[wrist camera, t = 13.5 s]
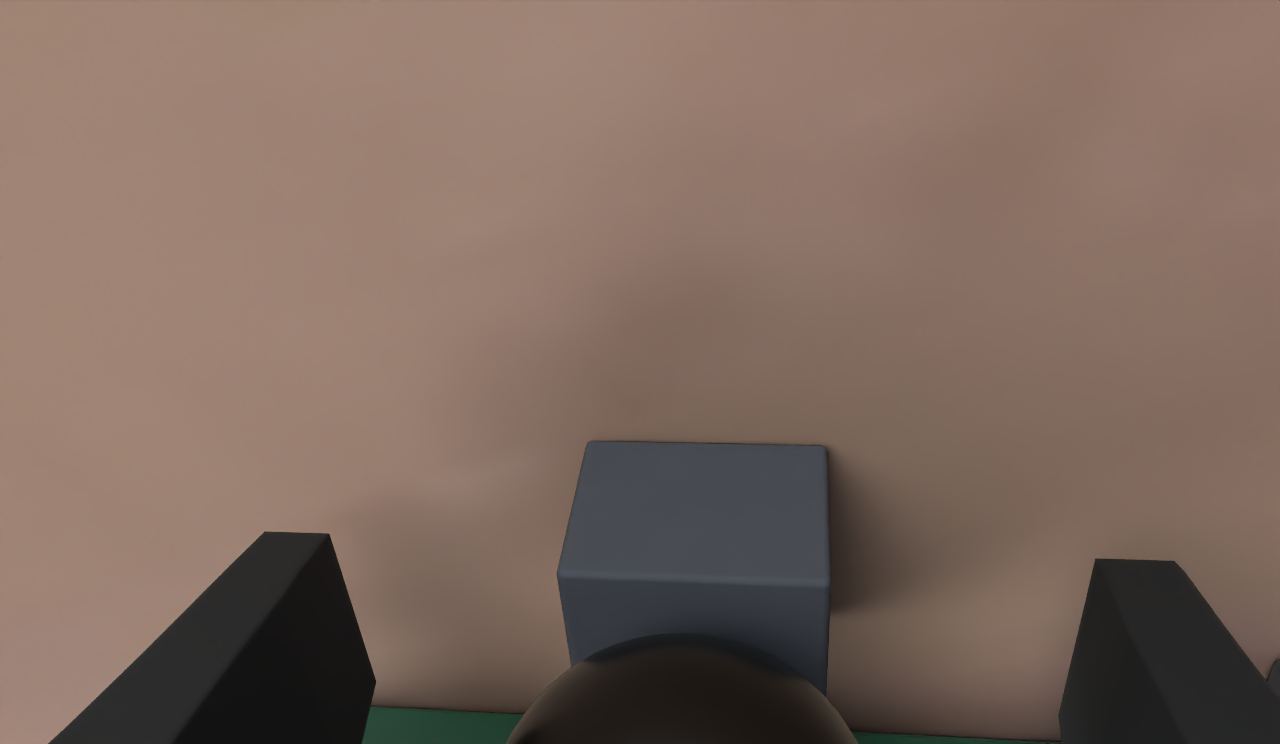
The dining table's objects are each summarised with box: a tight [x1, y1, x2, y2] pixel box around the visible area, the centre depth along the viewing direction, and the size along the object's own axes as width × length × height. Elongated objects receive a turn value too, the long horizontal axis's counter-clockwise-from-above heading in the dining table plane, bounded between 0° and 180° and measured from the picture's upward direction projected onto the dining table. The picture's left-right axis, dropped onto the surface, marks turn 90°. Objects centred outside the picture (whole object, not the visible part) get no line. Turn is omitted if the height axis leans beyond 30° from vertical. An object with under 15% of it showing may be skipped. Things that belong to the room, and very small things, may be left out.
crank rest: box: [557, 441, 831, 698], centre depth 11 cm, size 2×2×2 cm
